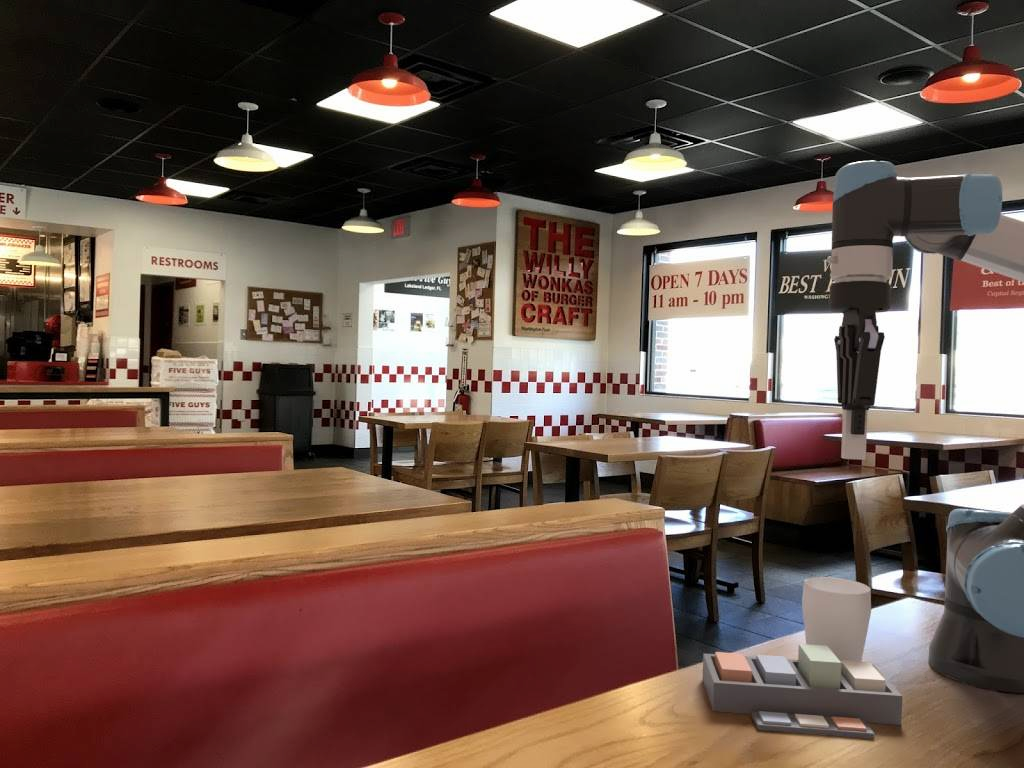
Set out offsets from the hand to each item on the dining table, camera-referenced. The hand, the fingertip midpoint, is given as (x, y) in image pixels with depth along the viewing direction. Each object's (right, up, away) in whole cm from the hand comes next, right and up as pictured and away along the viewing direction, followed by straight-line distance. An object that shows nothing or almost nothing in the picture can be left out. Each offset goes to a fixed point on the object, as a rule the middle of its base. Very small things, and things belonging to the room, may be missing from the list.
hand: (853, 458), depth 107 cm
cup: (0, -31, +6) cm, 31 cm away
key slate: (-12, -29, -5) cm, 32 cm away
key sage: (-7, -28, -6) cm, 29 cm away
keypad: (-10, -30, -5) cm, 32 cm away
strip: (-10, -30, -13) cm, 35 cm away
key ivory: (-2, -30, -6) cm, 30 cm away
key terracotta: (-17, -29, -4) cm, 34 cm away
